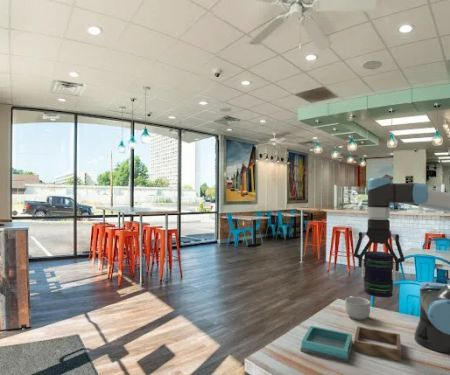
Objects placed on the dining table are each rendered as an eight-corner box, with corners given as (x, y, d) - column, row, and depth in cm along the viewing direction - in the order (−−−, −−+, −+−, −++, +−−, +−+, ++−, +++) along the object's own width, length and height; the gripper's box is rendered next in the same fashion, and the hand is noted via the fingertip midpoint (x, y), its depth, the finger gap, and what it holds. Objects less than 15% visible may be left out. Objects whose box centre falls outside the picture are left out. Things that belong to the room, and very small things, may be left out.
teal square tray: (352, 343, 120) (352, 333, 120) (348, 362, 106) (348, 351, 106) (310, 334, 127) (310, 325, 127) (300, 350, 113) (300, 341, 113)
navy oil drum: (364, 295, 115) (364, 254, 116) (363, 288, 124) (363, 250, 125) (394, 299, 111) (394, 256, 112) (391, 291, 120) (391, 252, 121)
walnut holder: (399, 343, 121) (399, 334, 121) (401, 361, 107) (401, 350, 107) (357, 334, 127) (357, 326, 127) (354, 350, 114) (354, 340, 114)
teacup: (372, 323, 140) (372, 305, 140) (346, 320, 142) (347, 302, 142) (365, 312, 154) (365, 295, 154) (341, 309, 156) (342, 293, 156)
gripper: (412, 219, 117) (412, 280, 116) (347, 216, 127) (347, 272, 126) (413, 220, 110) (413, 284, 110) (345, 217, 120) (345, 276, 120)
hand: (378, 278), depth 118 cm, fingers closed on navy oil drum, 10 cm apart
